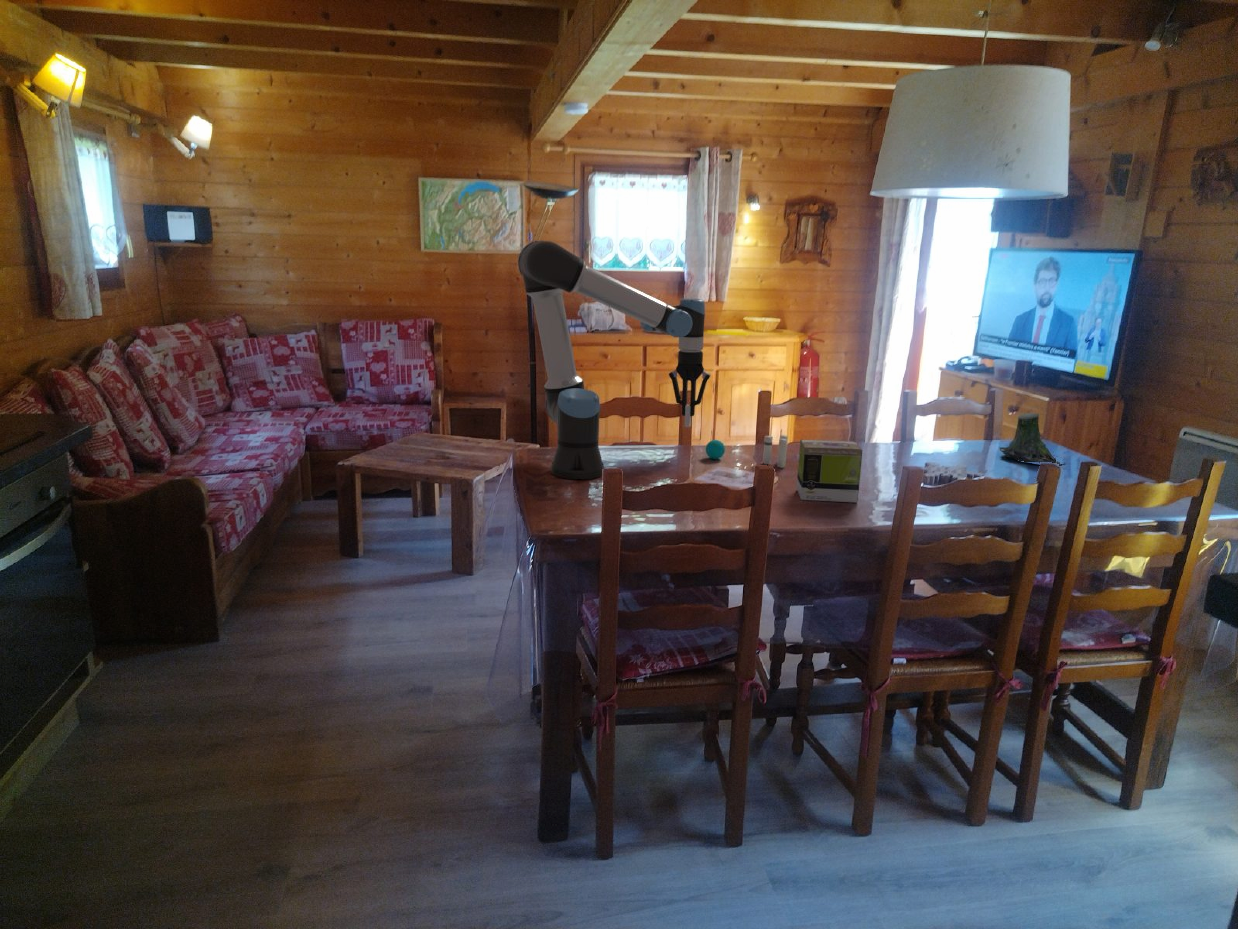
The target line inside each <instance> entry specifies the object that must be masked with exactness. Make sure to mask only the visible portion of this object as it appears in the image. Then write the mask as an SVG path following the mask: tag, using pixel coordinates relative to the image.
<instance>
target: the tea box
mask: <svg viewBox="0 0 1238 929" xmlns="http://www.w3.org/2000/svg"><path fill="white" fill-rule="evenodd" d="M862 459H863V449H862V448H861V447H860V446H859V445H858V443H857V441H853V440H851V441H848V440H847V441H846V440H825V439H800V441H799V454H798V466H797V467H798V468H797V476H796V478H797V480H796V490H797V492H798V496H799V497H800V500H801V501H802V500H803V501H815V502H816V501H818V502H821V501H822V502H838V503H839V502H842V503H855V504H857V503H858V502H859V493H860V492H859V491H860V484H861V482H860V481H861V469H862Z"/></svg>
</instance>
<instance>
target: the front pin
mask: <svg viewBox="0 0 1238 929" xmlns="http://www.w3.org/2000/svg"><path fill="white" fill-rule="evenodd" d="M763 440H764V441H763V452H762V453H763V454H762V464H763V463H764V464H763V465H767V464H768V465H771V460H772V450H773V436H771V435H765V436H764V439H763Z"/></svg>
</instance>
